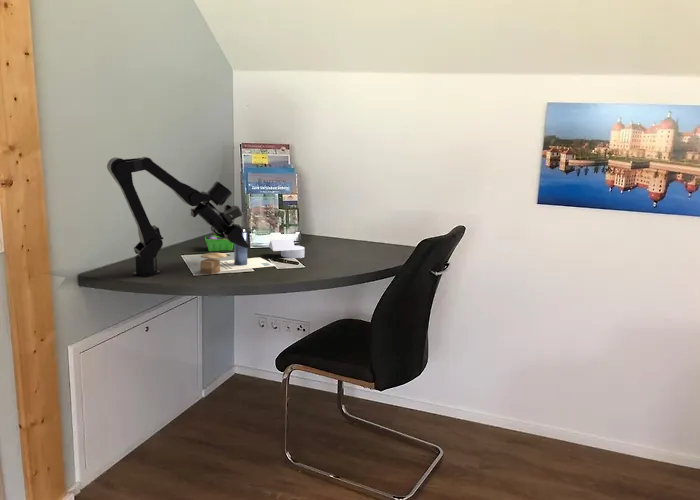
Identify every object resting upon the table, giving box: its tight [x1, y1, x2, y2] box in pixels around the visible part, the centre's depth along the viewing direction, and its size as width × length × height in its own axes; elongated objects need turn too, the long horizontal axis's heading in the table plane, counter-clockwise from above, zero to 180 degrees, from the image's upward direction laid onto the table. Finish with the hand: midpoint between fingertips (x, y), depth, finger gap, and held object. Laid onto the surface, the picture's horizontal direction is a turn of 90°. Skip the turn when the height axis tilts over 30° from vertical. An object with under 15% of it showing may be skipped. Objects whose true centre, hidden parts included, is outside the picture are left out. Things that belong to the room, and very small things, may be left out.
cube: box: [200, 258, 221, 275], centre depth 211 cm, size 4×4×4 cm
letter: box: [220, 257, 277, 272], centre depth 224 cm, size 21×15×1 cm
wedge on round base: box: [268, 238, 306, 259], centre depth 239 cm, size 9×7×13 cm
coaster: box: [201, 252, 227, 260], centre depth 235 cm, size 9×9×1 cm
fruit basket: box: [204, 233, 234, 252], centre depth 247 cm, size 11×9×11 cm
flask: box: [233, 228, 248, 266], centre depth 222 cm, size 5×5×12 cm
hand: (242, 244), depth 223 cm, fingers open, 9 cm apart
